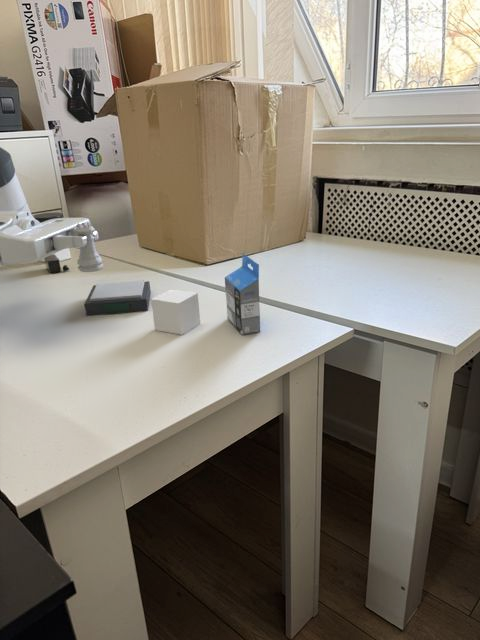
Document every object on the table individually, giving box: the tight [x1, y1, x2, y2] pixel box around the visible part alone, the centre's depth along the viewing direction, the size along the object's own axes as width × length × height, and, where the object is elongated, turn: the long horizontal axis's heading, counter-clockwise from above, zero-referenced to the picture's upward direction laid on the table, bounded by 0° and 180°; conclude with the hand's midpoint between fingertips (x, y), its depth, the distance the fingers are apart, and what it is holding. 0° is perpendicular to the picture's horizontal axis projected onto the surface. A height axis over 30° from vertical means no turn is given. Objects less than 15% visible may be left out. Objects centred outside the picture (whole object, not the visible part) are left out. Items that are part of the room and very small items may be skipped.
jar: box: [32, 212, 72, 263], centre depth 140 cm, size 9×8×12 cm
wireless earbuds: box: [44, 255, 70, 274], centre depth 131 cm, size 5×7×3 cm, turn 30°
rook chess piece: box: [75, 222, 105, 273], centre depth 89 cm, size 4×4×8 cm
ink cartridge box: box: [224, 252, 261, 336], centre depth 91 cm, size 9×4×12 cm, turn 21°
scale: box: [84, 280, 152, 316], centre depth 106 cm, size 12×12×3 cm
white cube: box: [150, 288, 201, 336], centre depth 93 cm, size 6×6×6 cm
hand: (90, 238), depth 88 cm, fingers closed on rook chess piece, 3 cm apart
